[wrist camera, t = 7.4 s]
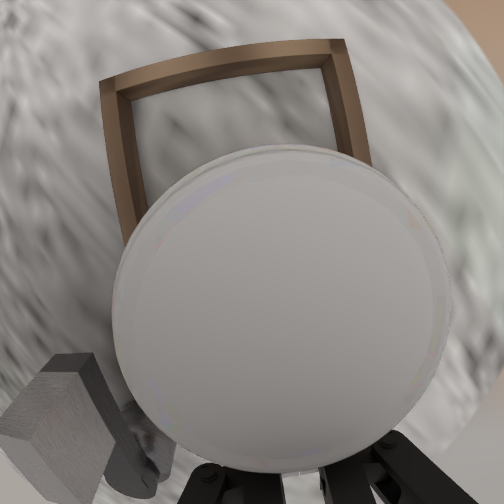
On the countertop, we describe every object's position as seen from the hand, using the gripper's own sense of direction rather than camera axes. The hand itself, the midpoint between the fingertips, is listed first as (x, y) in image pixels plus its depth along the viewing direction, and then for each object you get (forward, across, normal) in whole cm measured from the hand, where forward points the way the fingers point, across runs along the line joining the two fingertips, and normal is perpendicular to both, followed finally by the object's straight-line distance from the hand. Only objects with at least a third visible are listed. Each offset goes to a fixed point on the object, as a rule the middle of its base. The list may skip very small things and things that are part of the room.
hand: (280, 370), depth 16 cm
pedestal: (+4, -11, -7) cm, 14 cm away
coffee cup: (+4, 0, +5) cm, 6 cm away
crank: (-1, -11, -3) cm, 12 cm away
